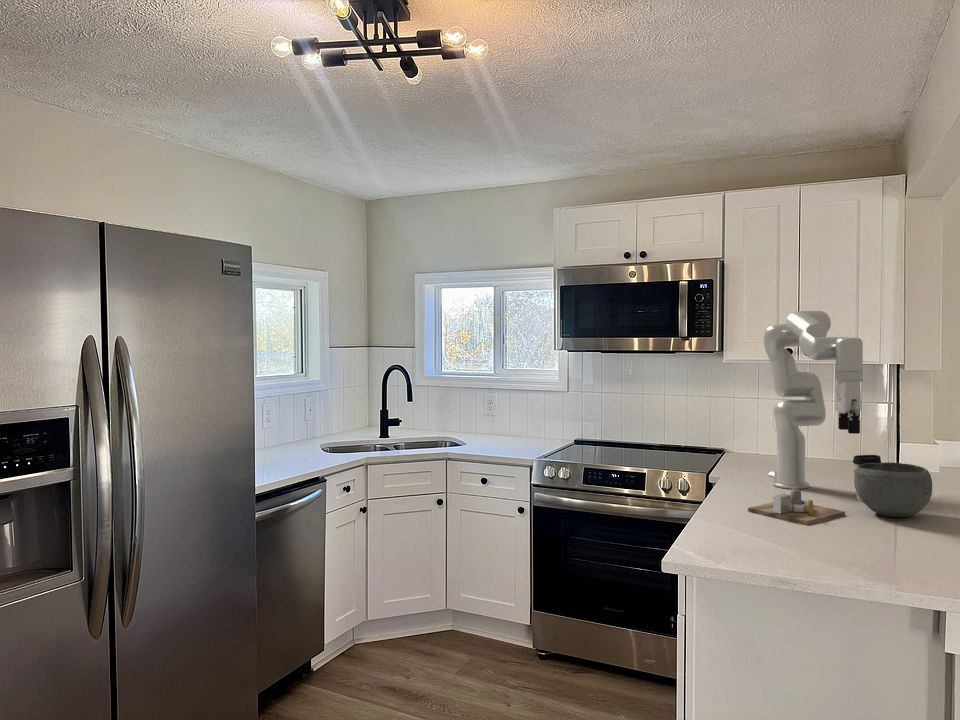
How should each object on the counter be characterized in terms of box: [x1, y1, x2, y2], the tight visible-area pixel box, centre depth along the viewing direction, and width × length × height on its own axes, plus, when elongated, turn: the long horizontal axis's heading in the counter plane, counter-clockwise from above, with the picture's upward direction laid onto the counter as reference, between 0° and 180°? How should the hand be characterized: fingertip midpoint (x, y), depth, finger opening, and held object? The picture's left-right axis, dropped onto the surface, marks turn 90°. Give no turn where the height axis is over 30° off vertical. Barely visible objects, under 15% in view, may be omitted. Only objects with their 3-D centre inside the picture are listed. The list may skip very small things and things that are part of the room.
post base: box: [747, 489, 846, 526], centre depth 221 cm, size 20×20×7 cm
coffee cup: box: [852, 454, 882, 502], centre depth 237 cm, size 8×8×15 cm
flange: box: [772, 493, 808, 514], centre depth 219 cm, size 9×14×5 cm, turn 123°
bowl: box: [853, 462, 933, 518], centre depth 217 cm, size 21×21×15 cm
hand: (848, 431), depth 222 cm, fingers open, 9 cm apart
